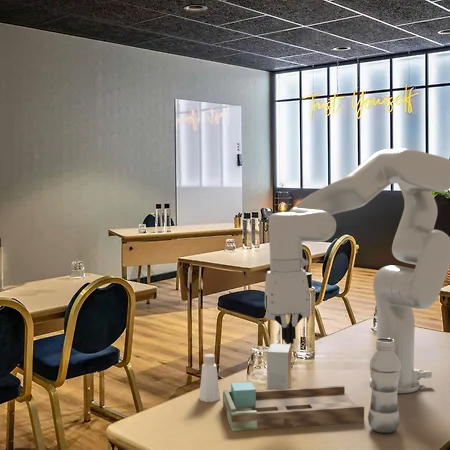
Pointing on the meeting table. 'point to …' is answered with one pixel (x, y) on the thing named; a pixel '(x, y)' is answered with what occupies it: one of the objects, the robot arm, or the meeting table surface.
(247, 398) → the block
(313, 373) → the meeting table surface
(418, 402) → the meeting table surface
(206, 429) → the meeting table surface
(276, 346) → the small box
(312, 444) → the meeting table surface
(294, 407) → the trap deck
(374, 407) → the plastic bottle
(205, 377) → the salt shaker
